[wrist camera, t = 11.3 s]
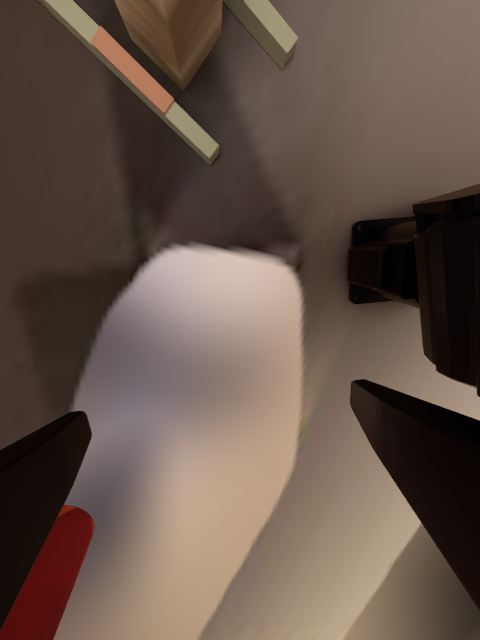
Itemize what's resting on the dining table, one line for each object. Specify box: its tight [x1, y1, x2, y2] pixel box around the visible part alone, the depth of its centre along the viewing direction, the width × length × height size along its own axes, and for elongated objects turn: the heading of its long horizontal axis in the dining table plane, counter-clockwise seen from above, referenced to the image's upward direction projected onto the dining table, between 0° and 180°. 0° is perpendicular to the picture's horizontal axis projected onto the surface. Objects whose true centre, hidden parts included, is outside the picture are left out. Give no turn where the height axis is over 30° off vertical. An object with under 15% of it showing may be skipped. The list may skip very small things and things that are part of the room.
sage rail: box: [38, 0, 298, 165], centre depth 14 cm, size 13×8×3 cm, turn 49°
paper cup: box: [0, 505, 95, 640], centre depth 19 cm, size 8×8×14 cm
